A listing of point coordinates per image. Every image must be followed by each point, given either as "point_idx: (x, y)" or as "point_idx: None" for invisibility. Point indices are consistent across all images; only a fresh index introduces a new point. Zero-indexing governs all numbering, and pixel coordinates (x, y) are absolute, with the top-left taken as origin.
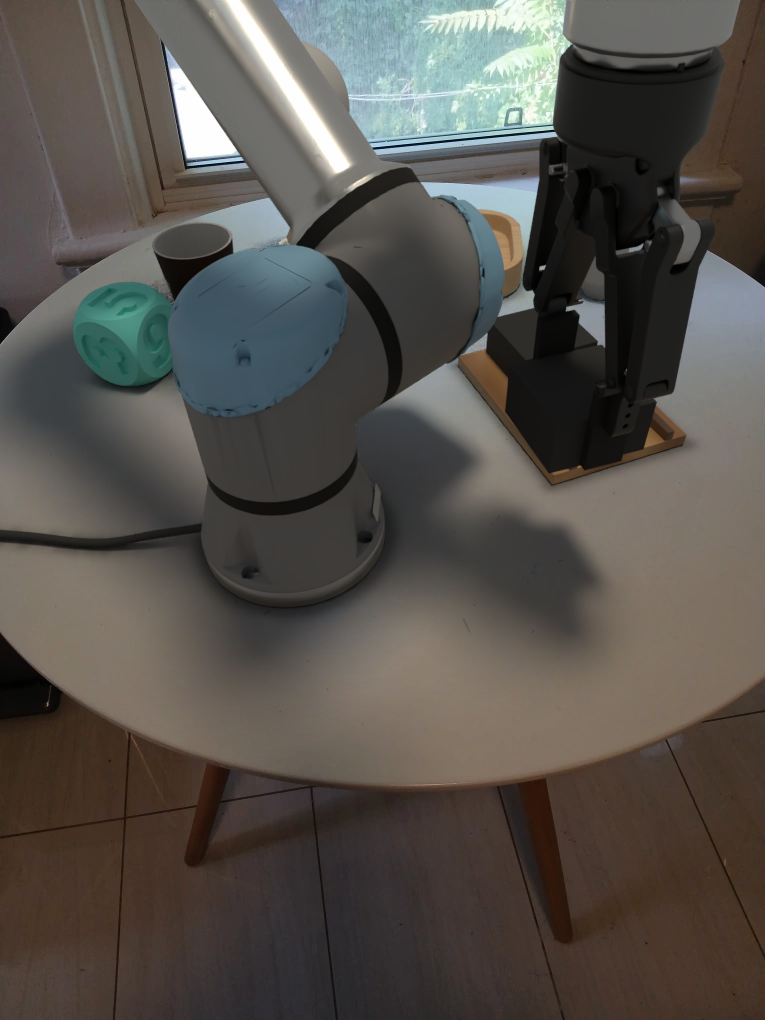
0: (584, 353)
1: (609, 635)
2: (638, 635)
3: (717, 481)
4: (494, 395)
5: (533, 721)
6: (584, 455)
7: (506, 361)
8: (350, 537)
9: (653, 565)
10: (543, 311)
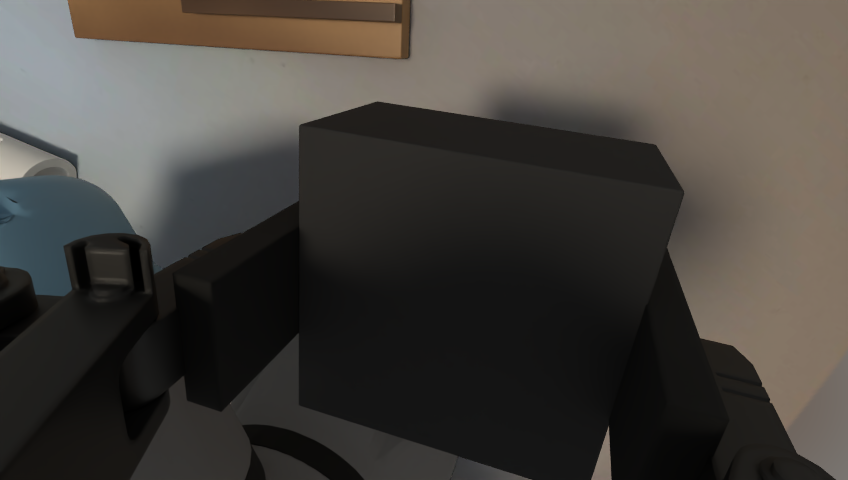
0: (323, 208)
1: (727, 173)
2: (759, 131)
3: None
4: (184, 36)
5: (767, 347)
6: None
7: None
8: None
9: (658, 4)
10: (168, 393)
